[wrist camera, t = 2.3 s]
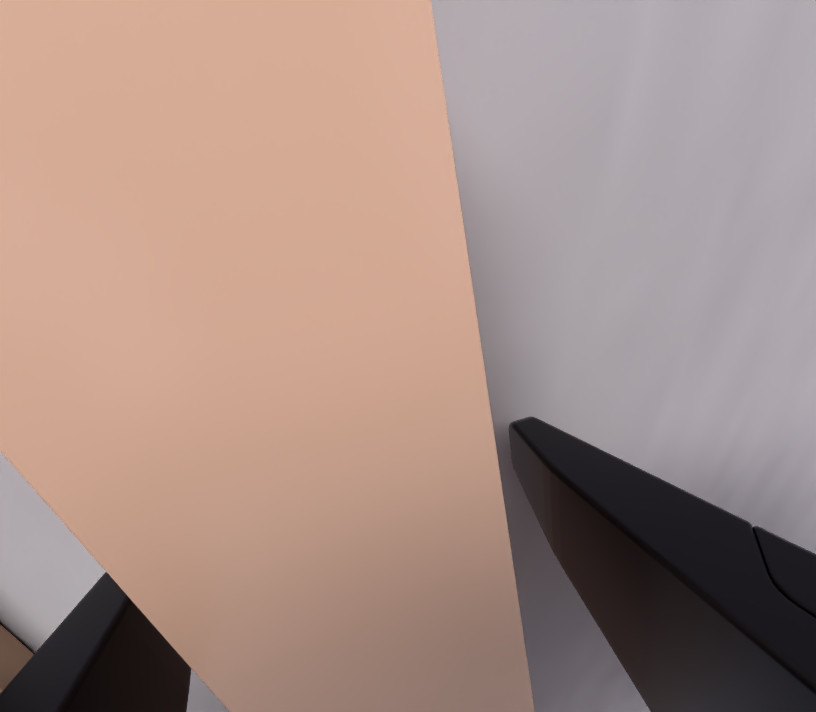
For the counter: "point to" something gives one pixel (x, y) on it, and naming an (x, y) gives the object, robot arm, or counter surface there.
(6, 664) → the rack
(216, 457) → the long rectangular block
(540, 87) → the counter surface
